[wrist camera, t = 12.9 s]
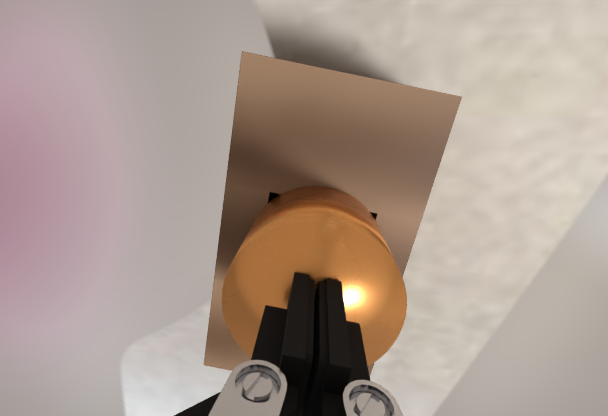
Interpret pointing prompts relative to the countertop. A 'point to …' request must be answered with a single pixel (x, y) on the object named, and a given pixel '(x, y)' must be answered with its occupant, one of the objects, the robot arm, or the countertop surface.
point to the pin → (316, 266)
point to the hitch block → (325, 158)
